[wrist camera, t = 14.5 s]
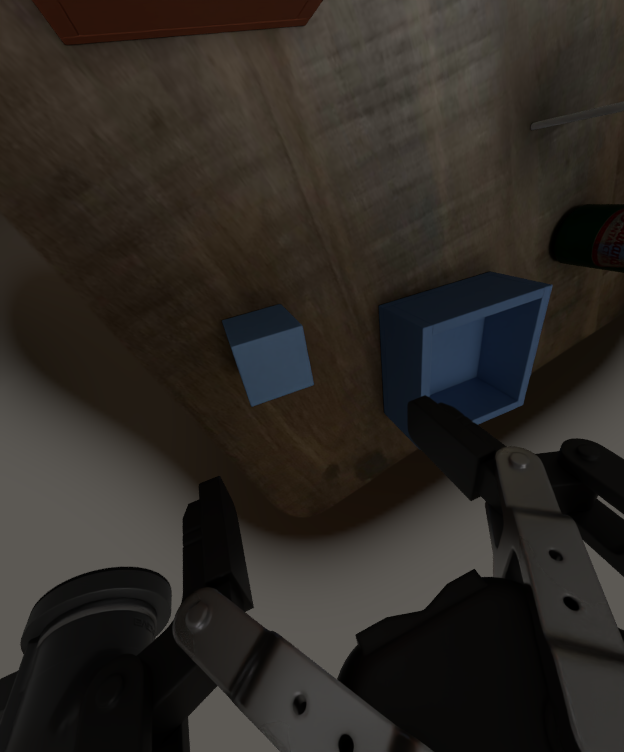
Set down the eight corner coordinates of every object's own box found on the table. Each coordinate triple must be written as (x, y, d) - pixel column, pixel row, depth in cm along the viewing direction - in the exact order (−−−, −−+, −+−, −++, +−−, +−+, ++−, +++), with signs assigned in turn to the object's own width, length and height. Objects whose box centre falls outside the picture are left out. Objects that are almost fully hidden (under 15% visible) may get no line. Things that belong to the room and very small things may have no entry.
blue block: (239, 372, 24) (251, 407, 20) (221, 320, 22) (230, 346, 18) (292, 355, 25) (314, 385, 21) (280, 303, 23) (302, 325, 19)
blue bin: (384, 413, 32) (419, 449, 27) (378, 305, 26) (423, 328, 21) (475, 377, 34) (523, 405, 30) (490, 271, 28) (553, 284, 24)
